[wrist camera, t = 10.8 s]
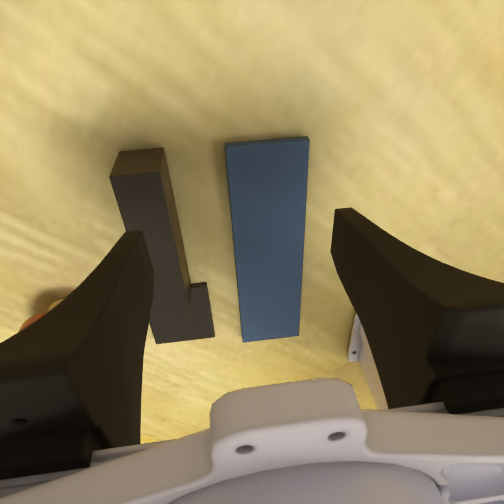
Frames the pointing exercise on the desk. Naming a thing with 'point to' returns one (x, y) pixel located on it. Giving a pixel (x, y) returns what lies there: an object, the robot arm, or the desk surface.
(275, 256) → the blue board
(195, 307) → the tall dark brown pillar
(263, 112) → the desk surface
